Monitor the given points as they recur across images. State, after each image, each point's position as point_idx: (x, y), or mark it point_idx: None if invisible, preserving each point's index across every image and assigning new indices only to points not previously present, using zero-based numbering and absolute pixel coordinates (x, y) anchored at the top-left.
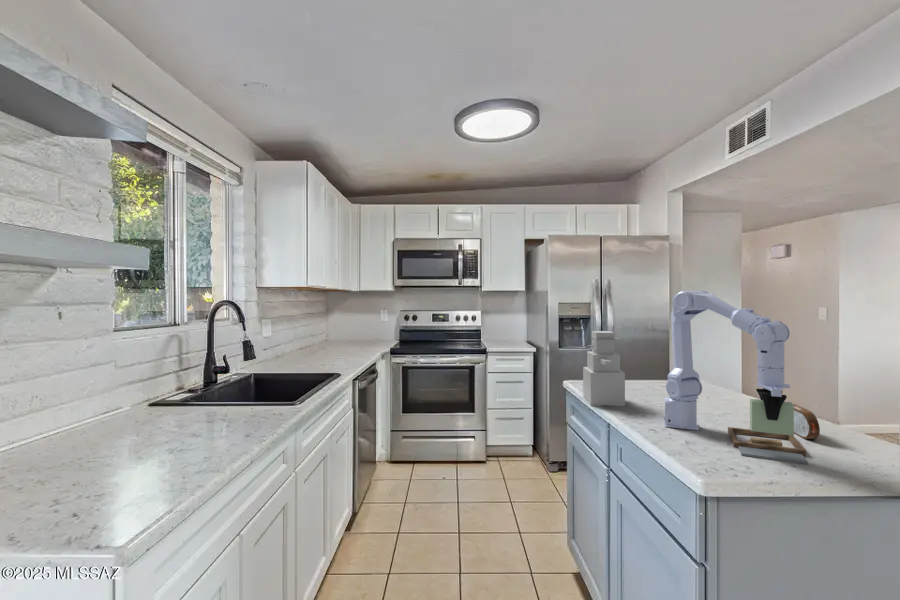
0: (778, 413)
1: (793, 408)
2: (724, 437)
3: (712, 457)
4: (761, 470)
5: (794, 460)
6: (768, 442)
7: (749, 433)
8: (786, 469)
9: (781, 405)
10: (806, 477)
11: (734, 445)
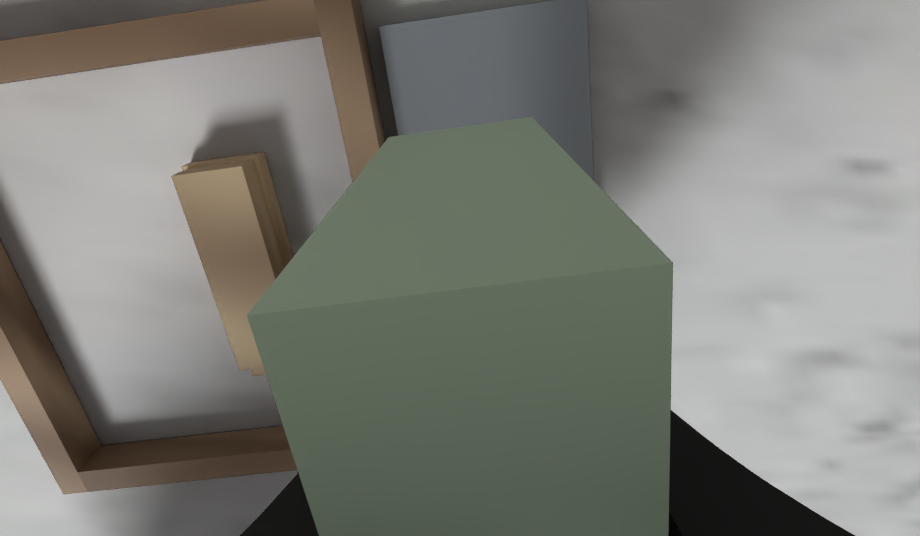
0: (675, 419)
1: (636, 227)
2: (246, 476)
3: None
4: (853, 294)
5: (588, 93)
6: (274, 258)
7: (46, 360)
8: (773, 154)
9: (839, 531)
10: (906, 37)
11: None
